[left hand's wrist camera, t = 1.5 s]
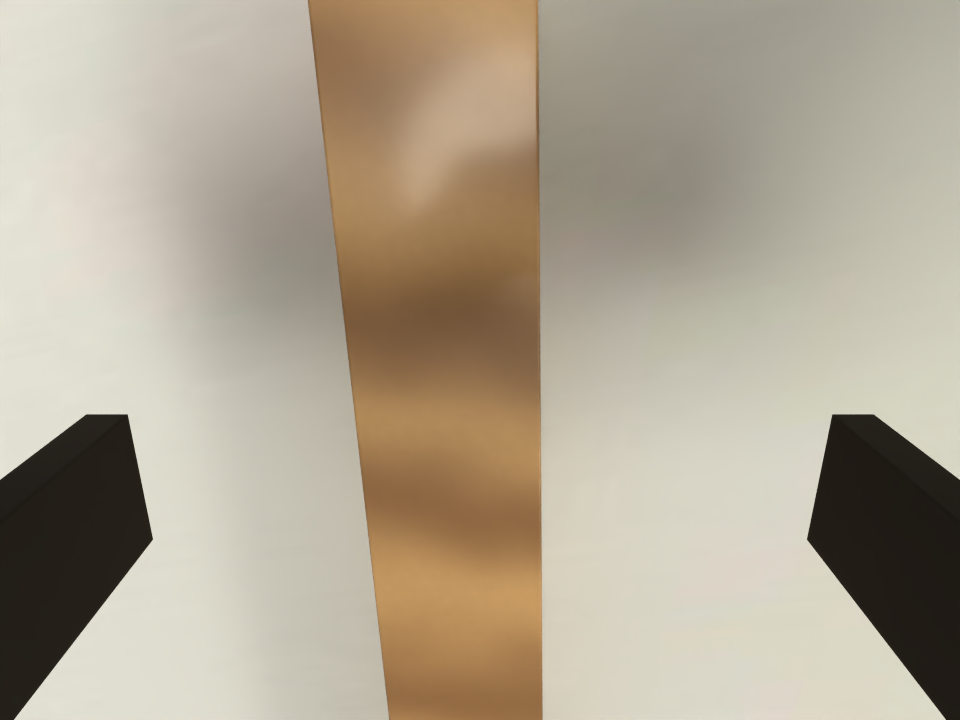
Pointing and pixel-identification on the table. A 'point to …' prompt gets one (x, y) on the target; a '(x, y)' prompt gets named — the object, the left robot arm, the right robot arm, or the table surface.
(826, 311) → the table surface
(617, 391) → the table surface
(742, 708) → the table surface
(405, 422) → the post
